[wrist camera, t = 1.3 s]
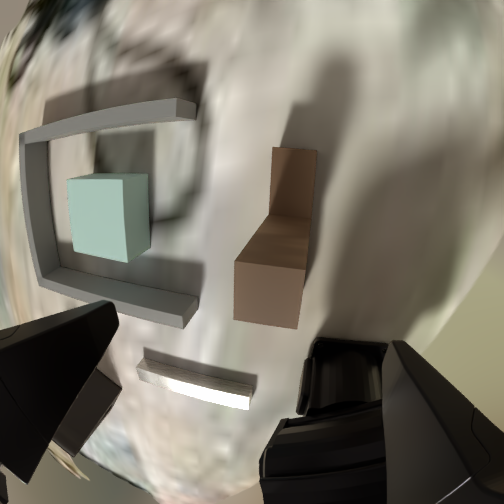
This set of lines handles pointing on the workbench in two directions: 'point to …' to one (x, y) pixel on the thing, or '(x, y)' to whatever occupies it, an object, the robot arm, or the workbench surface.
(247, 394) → the steel bar
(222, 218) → the workbench surface
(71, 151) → the workbench surface
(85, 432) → the phone stand
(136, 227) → the teal block
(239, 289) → the wooden l-shaped block
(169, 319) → the cubby
